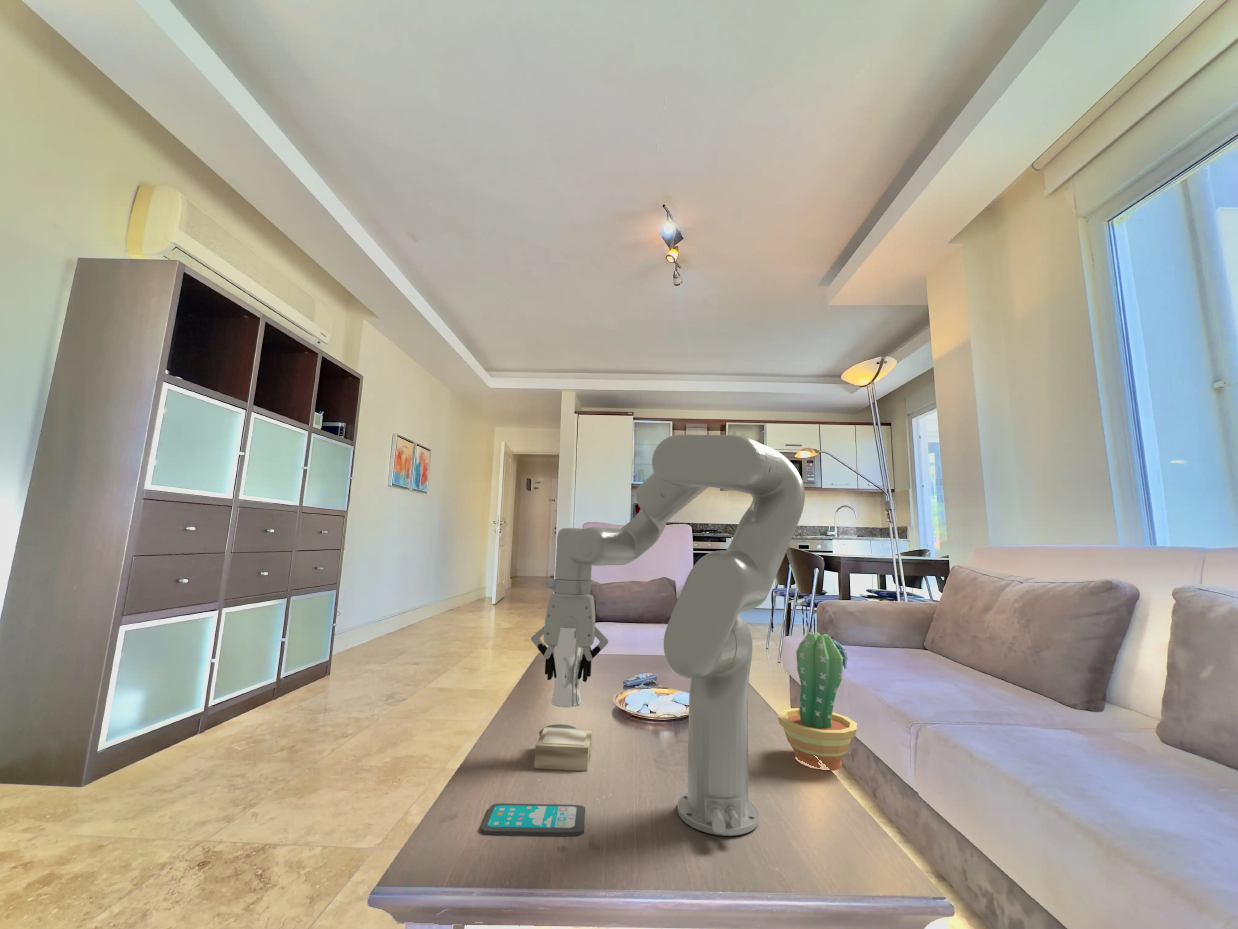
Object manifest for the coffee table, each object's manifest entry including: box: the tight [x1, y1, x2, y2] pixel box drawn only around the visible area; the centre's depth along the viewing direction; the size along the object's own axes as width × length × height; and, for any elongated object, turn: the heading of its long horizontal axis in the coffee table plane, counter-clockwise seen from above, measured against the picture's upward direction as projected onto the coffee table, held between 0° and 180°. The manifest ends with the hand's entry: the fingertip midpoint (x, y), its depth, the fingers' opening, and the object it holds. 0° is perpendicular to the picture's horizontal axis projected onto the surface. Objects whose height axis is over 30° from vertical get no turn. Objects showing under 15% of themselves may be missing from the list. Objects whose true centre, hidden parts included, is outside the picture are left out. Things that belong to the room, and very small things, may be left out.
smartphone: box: [480, 802, 586, 837], centre depth 79 cm, size 9×1×15 cm
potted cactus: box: [777, 631, 858, 772], centre depth 107 cm, size 15×15×25 cm
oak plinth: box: [534, 726, 594, 772], centre depth 102 cm, size 10×10×4 cm
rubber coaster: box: [541, 723, 577, 734], centre depth 115 cm, size 8×8×1 cm
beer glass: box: [550, 627, 586, 709], centre depth 104 cm, size 7×7×15 cm
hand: (567, 678), depth 104 cm, fingers closed on beer glass, 6 cm apart
